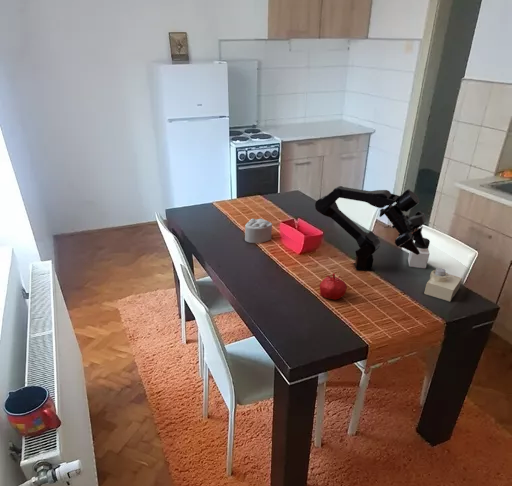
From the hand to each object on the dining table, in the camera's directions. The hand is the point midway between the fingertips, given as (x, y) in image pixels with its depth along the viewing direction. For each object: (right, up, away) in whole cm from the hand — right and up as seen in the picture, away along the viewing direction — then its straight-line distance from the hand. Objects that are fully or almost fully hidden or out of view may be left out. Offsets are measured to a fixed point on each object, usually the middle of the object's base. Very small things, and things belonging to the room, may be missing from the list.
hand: (421, 250), depth 184 cm
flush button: (+7, -10, -1) cm, 12 cm away
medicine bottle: (+5, -3, +22) cm, 23 cm away
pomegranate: (-36, -18, -6) cm, 41 cm away
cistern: (+8, -16, +1) cm, 18 cm away
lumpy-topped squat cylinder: (-65, +11, +39) cm, 76 cm away
